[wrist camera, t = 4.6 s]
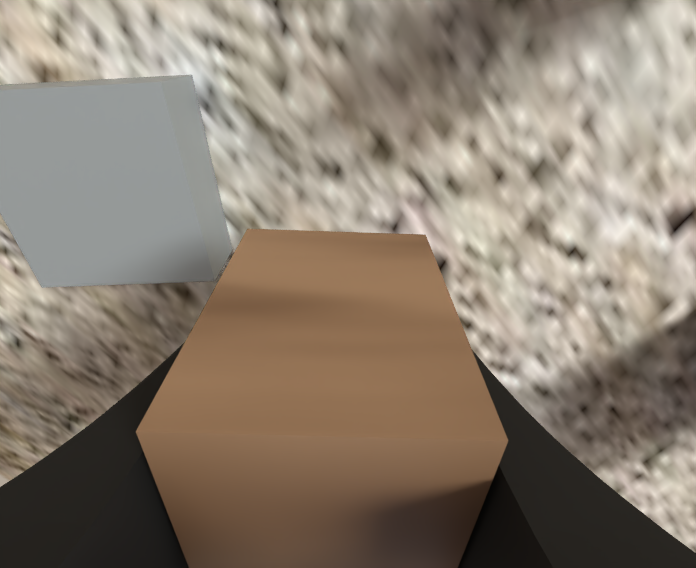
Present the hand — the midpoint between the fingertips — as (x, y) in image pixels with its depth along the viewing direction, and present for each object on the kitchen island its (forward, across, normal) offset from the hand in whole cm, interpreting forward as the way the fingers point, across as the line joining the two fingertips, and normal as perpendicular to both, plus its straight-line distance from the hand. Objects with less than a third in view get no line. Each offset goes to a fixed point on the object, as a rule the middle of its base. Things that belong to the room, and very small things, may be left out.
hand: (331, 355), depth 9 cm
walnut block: (+2, 0, 0) cm, 2 cm away
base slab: (+9, +9, -2) cm, 12 cm away
